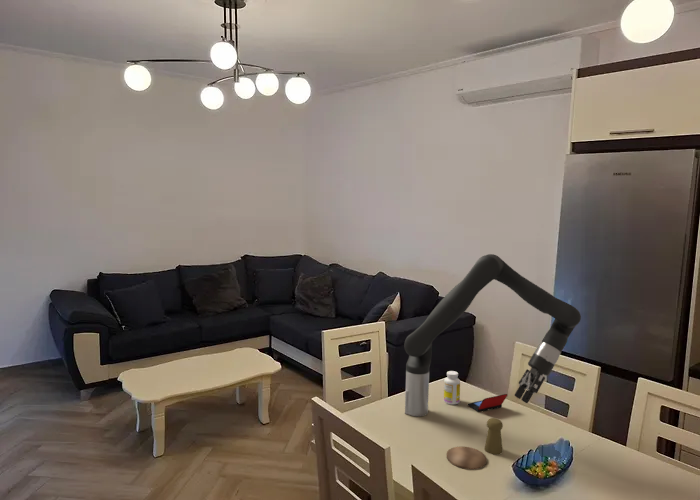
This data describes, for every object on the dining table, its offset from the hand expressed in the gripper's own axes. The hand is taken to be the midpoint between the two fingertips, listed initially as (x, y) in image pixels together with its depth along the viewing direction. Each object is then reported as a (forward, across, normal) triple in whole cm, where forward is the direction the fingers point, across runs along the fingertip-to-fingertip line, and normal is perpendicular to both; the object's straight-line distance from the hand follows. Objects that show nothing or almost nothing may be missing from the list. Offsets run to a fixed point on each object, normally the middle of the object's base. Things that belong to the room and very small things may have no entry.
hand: (520, 399), depth 168 cm
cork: (+20, -5, +2) cm, 21 cm away
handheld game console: (+10, -39, +2) cm, 40 cm away
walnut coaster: (+26, +1, -6) cm, 27 cm away
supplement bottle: (+16, -43, -10) cm, 47 cm away
